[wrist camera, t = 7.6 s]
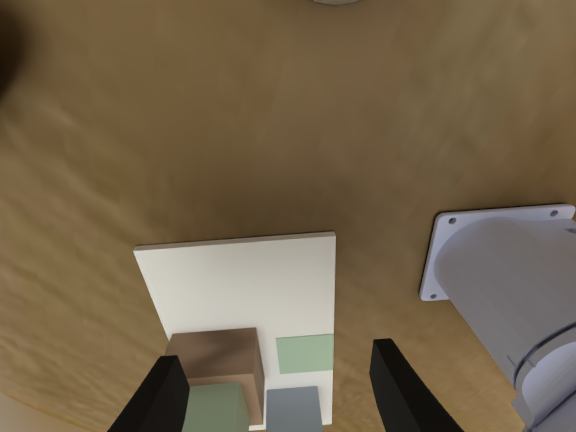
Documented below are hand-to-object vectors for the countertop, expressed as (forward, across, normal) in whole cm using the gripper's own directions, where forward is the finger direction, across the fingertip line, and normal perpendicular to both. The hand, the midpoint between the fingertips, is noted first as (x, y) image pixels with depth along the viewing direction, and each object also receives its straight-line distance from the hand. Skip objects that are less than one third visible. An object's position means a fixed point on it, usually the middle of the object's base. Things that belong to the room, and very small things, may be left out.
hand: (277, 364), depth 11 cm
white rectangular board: (+10, +3, +14) cm, 17 cm away
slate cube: (+10, 0, +21) cm, 23 cm away
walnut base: (+10, +6, +13) cm, 17 cm away
